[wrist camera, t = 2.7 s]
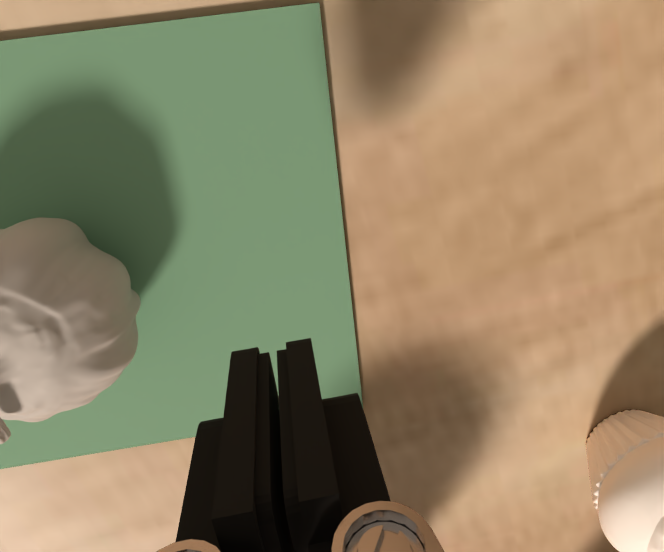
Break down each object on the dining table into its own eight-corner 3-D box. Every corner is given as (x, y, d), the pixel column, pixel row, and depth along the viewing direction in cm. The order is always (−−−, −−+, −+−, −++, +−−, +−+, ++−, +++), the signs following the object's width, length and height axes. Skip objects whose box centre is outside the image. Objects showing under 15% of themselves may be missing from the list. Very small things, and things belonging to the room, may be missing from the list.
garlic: (123, 383, 16) (62, 512, 12) (-44, 330, 15) (-191, 454, 10) (185, 244, 15) (141, 331, 10) (0, 164, 13) (-157, 224, 8)
